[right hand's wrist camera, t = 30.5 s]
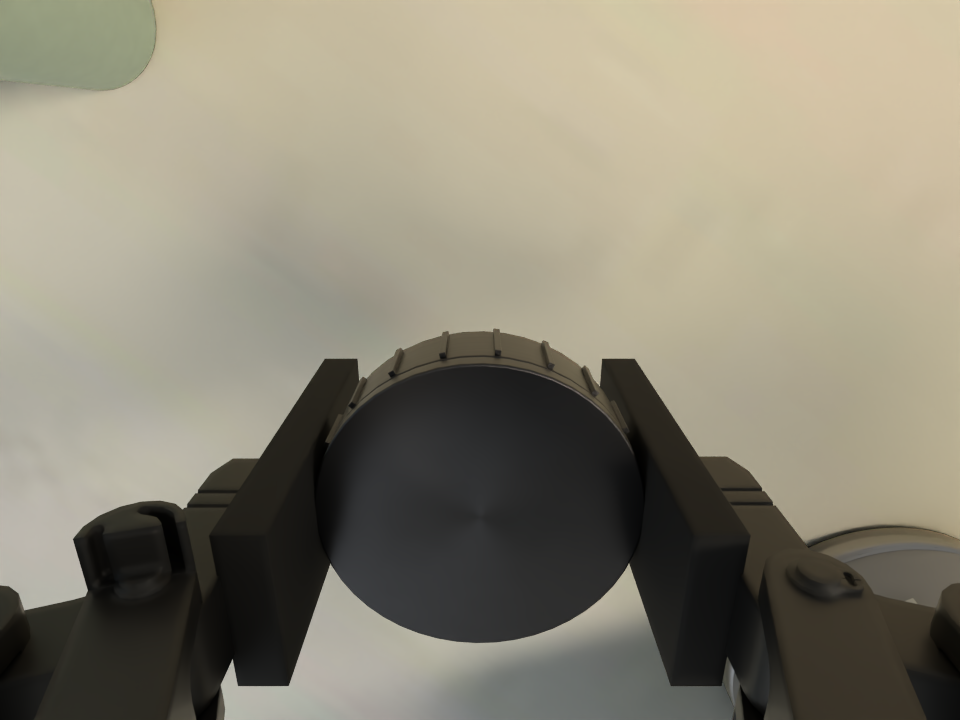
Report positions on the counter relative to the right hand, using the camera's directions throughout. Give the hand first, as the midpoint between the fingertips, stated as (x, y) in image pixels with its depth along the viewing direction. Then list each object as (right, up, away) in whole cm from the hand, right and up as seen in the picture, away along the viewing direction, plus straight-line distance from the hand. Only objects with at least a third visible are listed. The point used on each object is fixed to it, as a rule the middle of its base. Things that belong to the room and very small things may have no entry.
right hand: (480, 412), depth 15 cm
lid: (0, -1, -4) cm, 4 cm away
